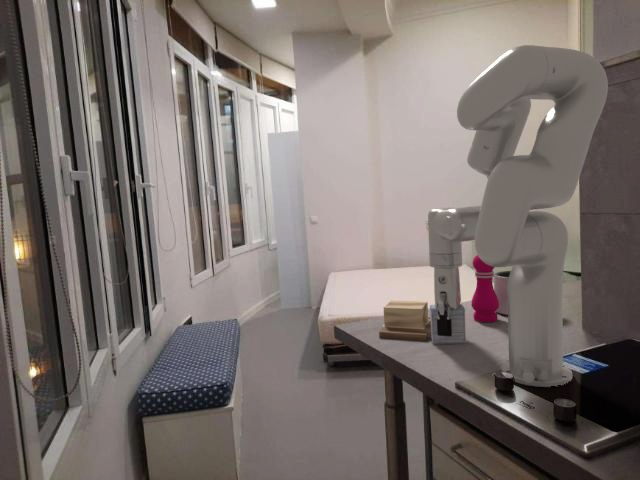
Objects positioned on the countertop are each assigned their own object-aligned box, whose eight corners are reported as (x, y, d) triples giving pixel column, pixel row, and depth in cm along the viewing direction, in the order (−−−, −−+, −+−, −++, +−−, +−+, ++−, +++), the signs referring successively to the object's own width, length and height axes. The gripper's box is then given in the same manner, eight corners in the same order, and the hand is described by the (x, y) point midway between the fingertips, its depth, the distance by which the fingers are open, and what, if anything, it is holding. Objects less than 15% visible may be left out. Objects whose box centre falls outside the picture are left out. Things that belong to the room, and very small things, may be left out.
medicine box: (464, 338, 116) (463, 303, 116) (466, 344, 112) (465, 308, 111) (431, 338, 118) (429, 304, 117) (432, 344, 114) (430, 308, 113)
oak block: (422, 328, 121) (421, 309, 121) (384, 325, 125) (383, 307, 125) (428, 319, 129) (427, 301, 128) (392, 318, 133) (391, 300, 132)
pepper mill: (492, 324, 126) (491, 250, 124) (467, 320, 131) (465, 249, 129) (503, 318, 132) (502, 246, 130) (478, 315, 136) (476, 246, 134)
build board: (426, 340, 116) (426, 334, 116) (377, 337, 121) (377, 331, 121) (437, 323, 131) (437, 317, 130) (393, 320, 136) (393, 315, 135)
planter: (488, 307, 144) (487, 271, 143) (530, 306, 143) (530, 269, 142) (502, 318, 131) (501, 279, 130) (549, 316, 131) (548, 276, 130)
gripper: (457, 265, 104) (459, 341, 105) (466, 254, 119) (467, 321, 121) (422, 265, 107) (425, 339, 108) (435, 254, 122) (438, 319, 124)
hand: (447, 329), depth 115 cm, fingers open, 9 cm apart
